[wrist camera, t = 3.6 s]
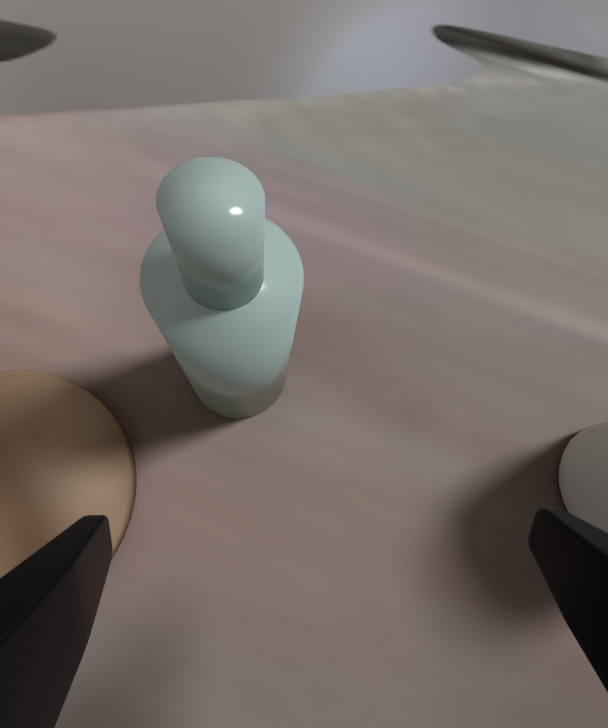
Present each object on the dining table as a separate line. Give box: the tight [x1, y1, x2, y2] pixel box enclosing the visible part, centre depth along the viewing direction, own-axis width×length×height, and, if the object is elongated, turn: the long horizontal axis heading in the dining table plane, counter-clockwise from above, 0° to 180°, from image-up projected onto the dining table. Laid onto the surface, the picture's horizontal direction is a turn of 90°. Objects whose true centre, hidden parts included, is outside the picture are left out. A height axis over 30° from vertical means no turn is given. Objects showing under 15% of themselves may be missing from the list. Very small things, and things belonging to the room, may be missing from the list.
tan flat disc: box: [0, 370, 136, 578], centre depth 20 cm, size 12×12×1 cm
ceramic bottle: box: [140, 157, 304, 418], centre depth 17 cm, size 5×5×14 cm
